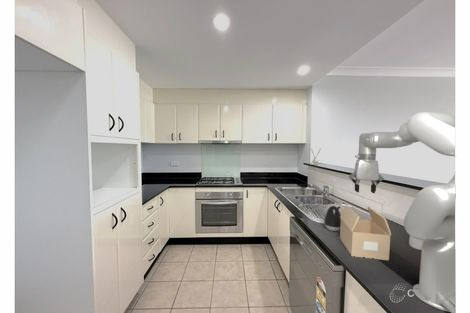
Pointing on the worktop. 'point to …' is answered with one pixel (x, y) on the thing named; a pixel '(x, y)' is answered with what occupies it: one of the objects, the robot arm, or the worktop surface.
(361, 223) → the carton
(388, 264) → the worktop surface
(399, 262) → the worktop surface
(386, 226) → the right flap
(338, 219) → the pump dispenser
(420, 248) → the milk bottle
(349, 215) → the left flap
